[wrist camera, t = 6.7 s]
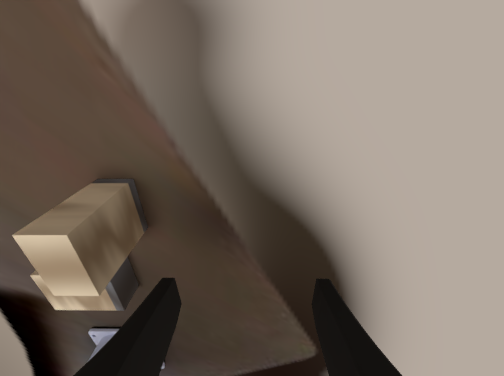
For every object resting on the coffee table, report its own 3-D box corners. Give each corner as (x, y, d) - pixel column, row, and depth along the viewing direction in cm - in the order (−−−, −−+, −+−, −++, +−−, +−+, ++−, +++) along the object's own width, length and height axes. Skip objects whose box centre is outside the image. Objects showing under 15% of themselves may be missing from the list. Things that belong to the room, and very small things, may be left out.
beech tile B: (148, 227, 20) (99, 296, 14) (116, 227, 20) (53, 295, 14) (133, 178, 18) (66, 235, 11) (97, 179, 18) (11, 235, 12)
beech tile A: (124, 310, 21) (55, 309, 21) (139, 284, 24) (77, 283, 24) (107, 275, 19) (30, 275, 19) (125, 250, 22) (57, 250, 22)
